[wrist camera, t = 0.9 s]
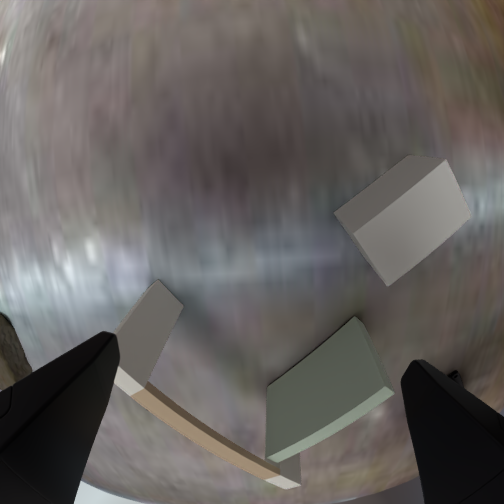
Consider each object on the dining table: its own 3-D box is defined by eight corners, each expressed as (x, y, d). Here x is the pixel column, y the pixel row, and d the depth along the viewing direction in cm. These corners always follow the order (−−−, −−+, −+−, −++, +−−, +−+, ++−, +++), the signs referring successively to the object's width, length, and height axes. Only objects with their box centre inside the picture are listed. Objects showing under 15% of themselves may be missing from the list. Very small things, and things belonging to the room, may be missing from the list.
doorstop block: (432, 200, 18) (471, 216, 13) (362, 256, 20) (387, 287, 15) (407, 154, 17) (446, 159, 13) (332, 212, 19) (353, 233, 14)
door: (286, 397, 25) (288, 466, 17) (267, 386, 24) (265, 458, 17) (372, 331, 22) (403, 399, 14) (354, 315, 21) (385, 386, 14)
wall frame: (296, 407, 25) (301, 485, 17) (284, 413, 26) (285, 489, 17) (158, 279, 21) (103, 352, 13) (146, 289, 22) (91, 362, 13)
